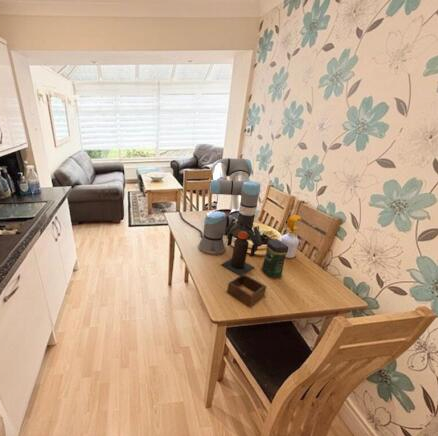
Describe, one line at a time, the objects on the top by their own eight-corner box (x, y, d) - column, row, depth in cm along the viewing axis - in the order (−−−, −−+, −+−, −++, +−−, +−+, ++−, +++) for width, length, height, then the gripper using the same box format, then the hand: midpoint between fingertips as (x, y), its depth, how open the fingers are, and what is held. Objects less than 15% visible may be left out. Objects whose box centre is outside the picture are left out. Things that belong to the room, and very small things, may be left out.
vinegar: (245, 264, 131) (251, 231, 122) (242, 270, 125) (249, 237, 117) (232, 260, 134) (237, 229, 126) (229, 267, 128) (235, 234, 120)
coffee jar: (284, 278, 120) (292, 246, 113) (269, 279, 120) (277, 247, 112) (272, 266, 129) (279, 236, 122) (258, 268, 128) (265, 237, 121)
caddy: (227, 292, 111) (228, 282, 109) (241, 282, 117) (243, 273, 115) (249, 307, 103) (251, 297, 100) (264, 295, 109) (266, 286, 107)
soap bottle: (298, 256, 139) (309, 217, 129) (287, 259, 136) (297, 220, 126) (285, 248, 146) (294, 212, 136) (274, 251, 143) (283, 214, 133)
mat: (221, 265, 131) (221, 264, 131) (234, 258, 137) (234, 257, 137) (240, 276, 122) (240, 275, 122) (253, 267, 129) (253, 266, 128)
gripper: (221, 207, 124) (216, 242, 133) (267, 223, 106) (258, 263, 115) (229, 204, 128) (224, 238, 137) (275, 219, 110) (266, 258, 119)
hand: (240, 250), depth 126 cm, fingers open, 13 cm apart
